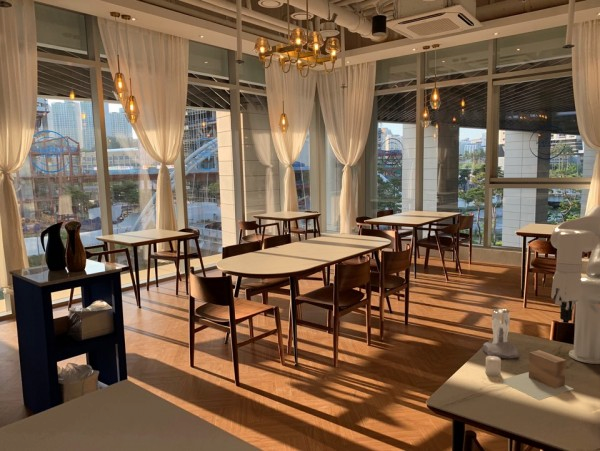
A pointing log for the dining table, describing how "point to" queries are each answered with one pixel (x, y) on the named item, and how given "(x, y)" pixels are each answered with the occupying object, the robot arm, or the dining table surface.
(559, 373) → the block
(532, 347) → the dining table surface
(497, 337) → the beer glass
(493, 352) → the stone block
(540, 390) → the mat
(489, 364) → the white rounded cylinder
